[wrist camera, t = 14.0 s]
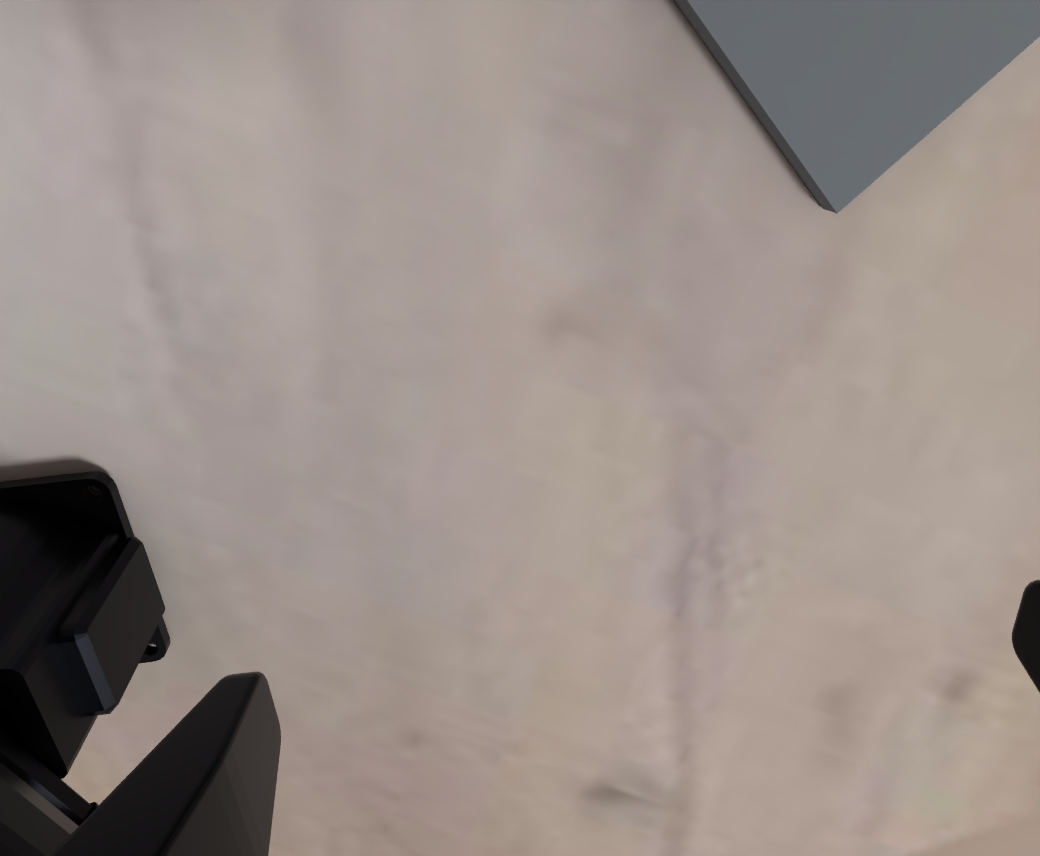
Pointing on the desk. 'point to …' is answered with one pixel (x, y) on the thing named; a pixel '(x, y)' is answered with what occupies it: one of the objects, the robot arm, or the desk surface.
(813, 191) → the rubber mat
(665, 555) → the desk surface
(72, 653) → the robot arm
